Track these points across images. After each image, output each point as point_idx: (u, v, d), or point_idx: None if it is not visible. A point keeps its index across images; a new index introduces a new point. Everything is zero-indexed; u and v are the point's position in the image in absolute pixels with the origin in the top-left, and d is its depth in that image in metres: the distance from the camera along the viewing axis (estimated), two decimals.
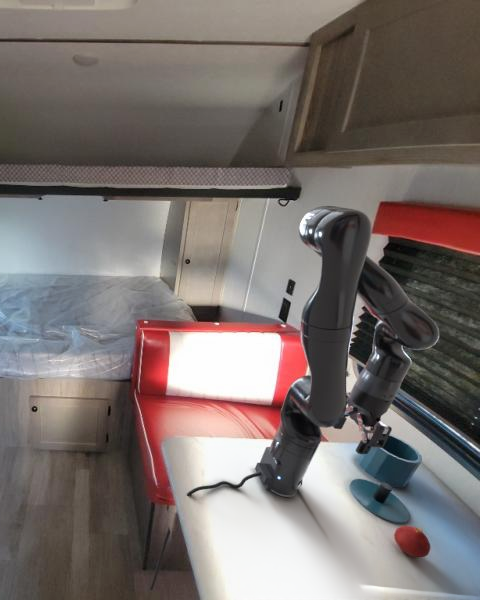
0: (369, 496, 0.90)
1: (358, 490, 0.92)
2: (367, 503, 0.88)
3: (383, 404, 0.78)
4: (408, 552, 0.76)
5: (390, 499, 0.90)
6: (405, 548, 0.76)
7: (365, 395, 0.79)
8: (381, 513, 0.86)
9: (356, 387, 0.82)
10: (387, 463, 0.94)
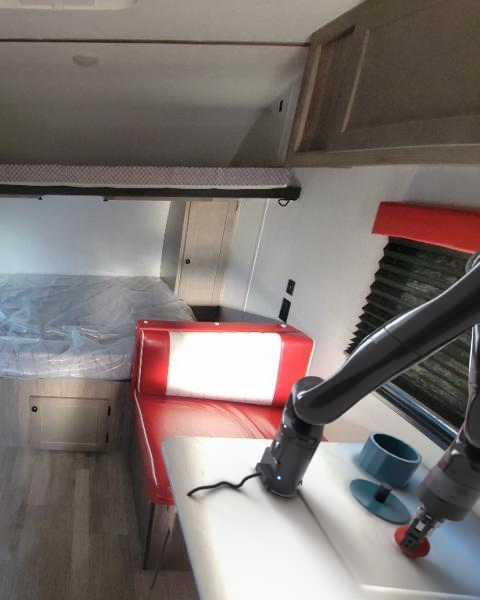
0: (369, 496, 0.90)
1: (358, 490, 0.92)
2: (367, 503, 0.88)
3: (437, 501, 0.70)
4: (408, 552, 0.76)
5: (390, 499, 0.90)
6: None
7: (423, 483, 0.73)
8: (381, 513, 0.86)
9: None
10: (387, 463, 0.94)
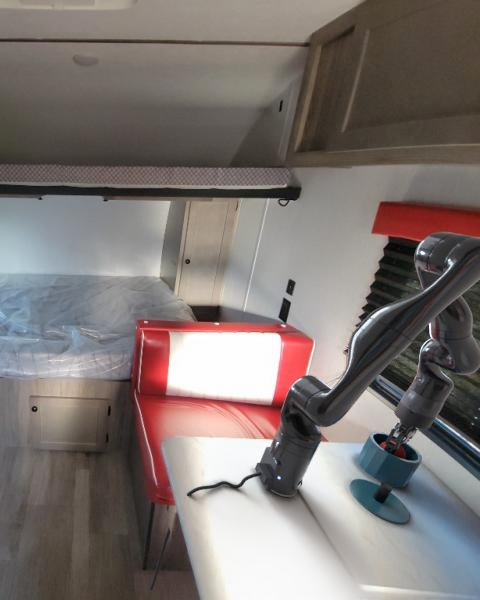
0: (369, 496, 0.90)
1: (358, 490, 0.92)
2: (367, 503, 0.88)
3: (409, 414, 0.91)
4: None
5: (390, 499, 0.90)
6: None
7: (399, 403, 0.94)
8: (381, 513, 0.86)
9: None
10: (387, 463, 0.94)
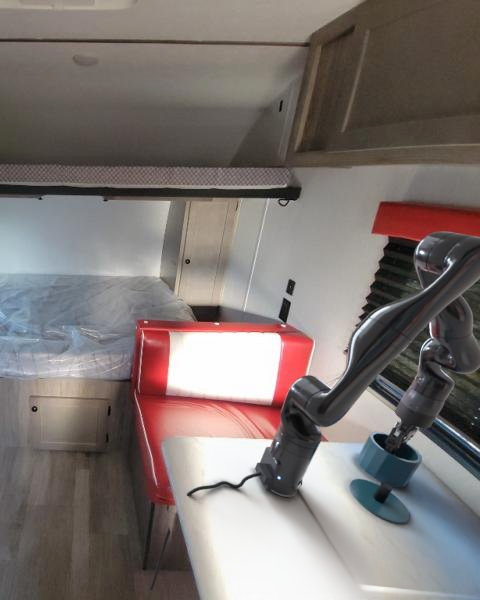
0: (369, 496, 0.90)
1: (358, 490, 0.92)
2: (367, 503, 0.88)
3: (410, 413, 0.91)
4: None
5: (390, 499, 0.90)
6: None
7: (400, 402, 0.94)
8: (381, 513, 0.86)
9: None
10: (387, 463, 0.94)
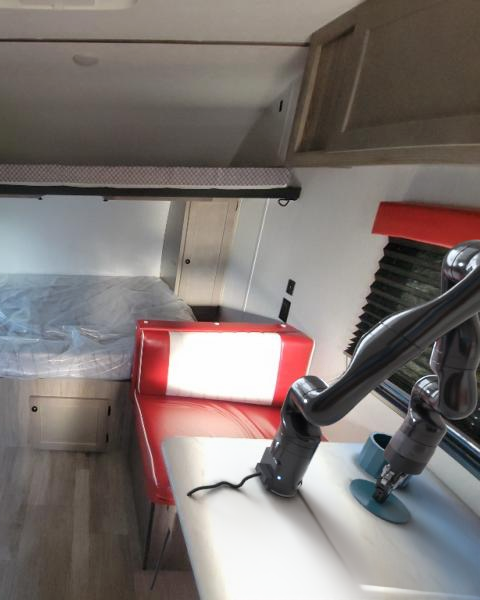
0: (369, 496, 0.90)
1: (358, 490, 0.92)
2: (367, 503, 0.88)
3: (398, 458, 0.82)
4: None
5: (390, 499, 0.90)
6: None
7: (388, 445, 0.85)
8: (381, 513, 0.86)
9: None
10: (387, 463, 0.94)
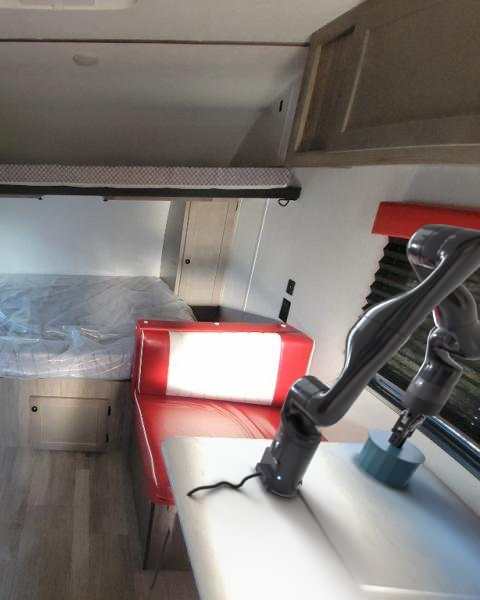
0: (387, 443, 0.97)
1: (377, 438, 0.99)
2: (386, 448, 0.95)
3: (417, 401, 0.89)
4: None
5: (407, 445, 0.97)
6: None
7: (407, 390, 0.92)
8: (399, 456, 0.93)
9: None
10: (387, 463, 0.94)
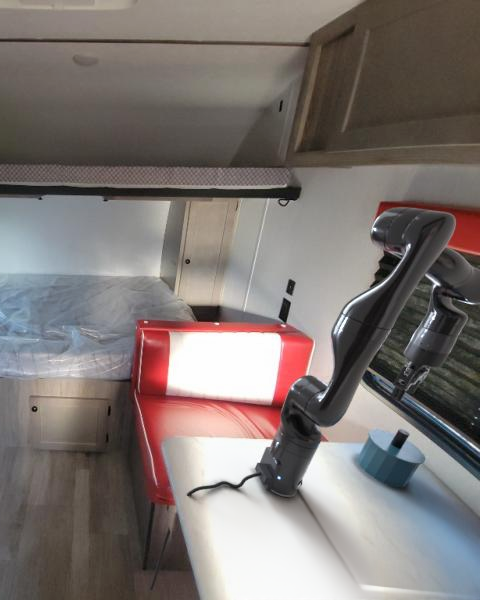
0: (387, 443, 0.97)
1: (377, 438, 0.99)
2: (386, 448, 0.95)
3: (420, 352, 0.86)
4: None
5: (407, 445, 0.97)
6: None
7: (409, 343, 0.89)
8: (399, 456, 0.93)
9: None
10: (387, 463, 0.94)
